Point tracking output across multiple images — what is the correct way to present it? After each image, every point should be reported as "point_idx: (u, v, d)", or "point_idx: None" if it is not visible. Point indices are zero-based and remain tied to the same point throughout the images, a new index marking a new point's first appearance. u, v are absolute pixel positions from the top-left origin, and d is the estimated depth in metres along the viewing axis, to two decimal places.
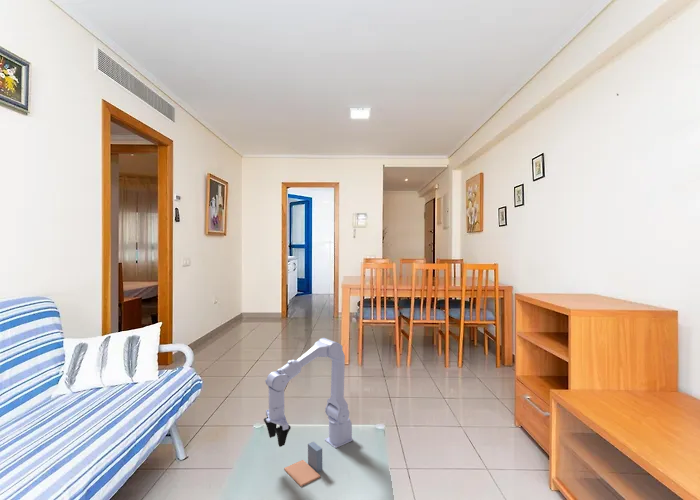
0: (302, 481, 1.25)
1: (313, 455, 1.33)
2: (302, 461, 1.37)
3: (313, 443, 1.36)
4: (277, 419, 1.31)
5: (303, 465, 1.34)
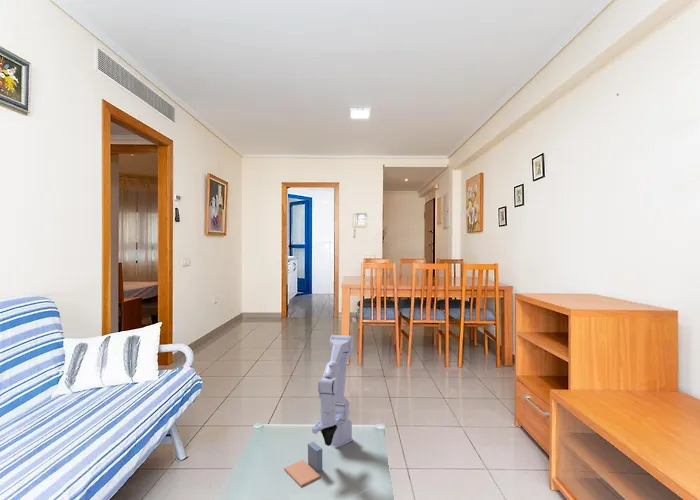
0: (302, 481, 1.25)
1: (313, 455, 1.33)
2: (302, 461, 1.37)
3: (313, 443, 1.36)
4: (321, 421, 1.36)
5: (303, 465, 1.34)
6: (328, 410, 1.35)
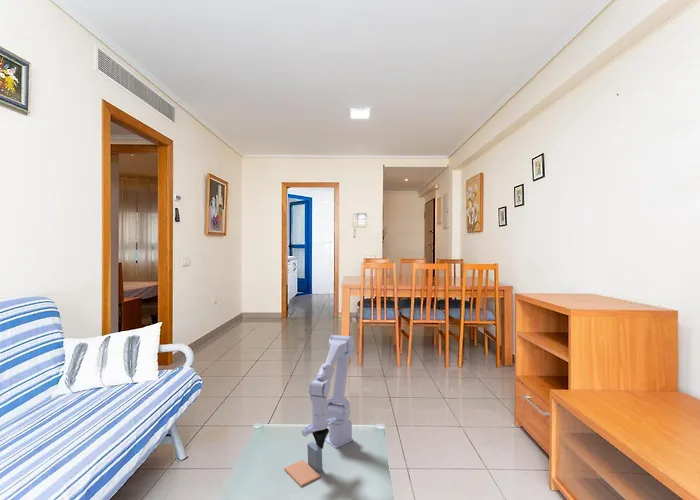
0: (302, 481, 1.25)
1: (312, 455, 1.33)
2: (302, 461, 1.37)
3: (313, 443, 1.36)
4: (312, 424, 1.34)
5: (303, 465, 1.34)
6: (319, 413, 1.32)
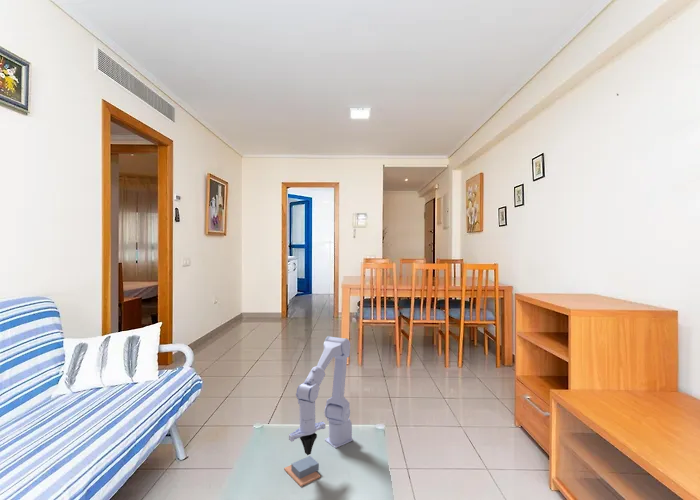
0: (302, 481, 1.25)
1: None
2: None
3: (292, 467, 1.30)
4: (299, 429, 1.31)
5: None
6: (305, 418, 1.29)
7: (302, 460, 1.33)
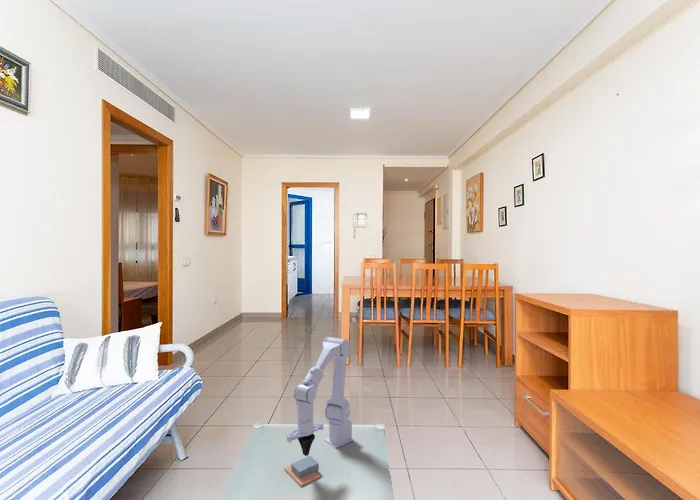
0: (302, 481, 1.25)
1: None
2: None
3: (292, 467, 1.30)
4: (297, 429, 1.31)
5: None
6: (303, 418, 1.28)
7: (302, 460, 1.33)
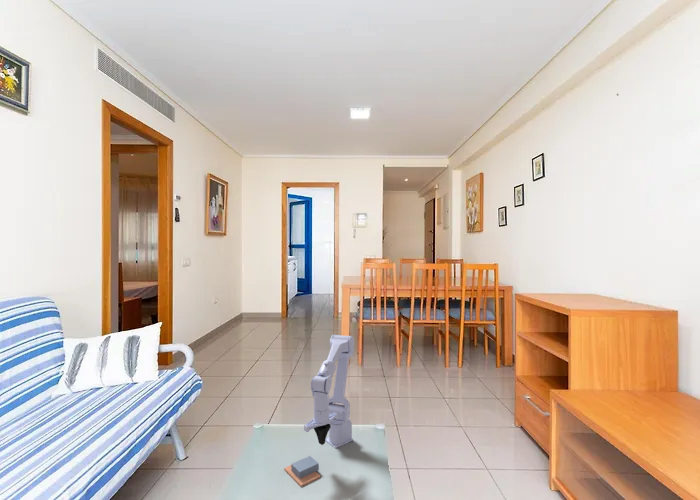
0: (302, 481, 1.25)
1: None
2: None
3: (292, 467, 1.30)
4: (314, 420, 1.35)
5: None
6: (320, 409, 1.33)
7: (302, 460, 1.33)
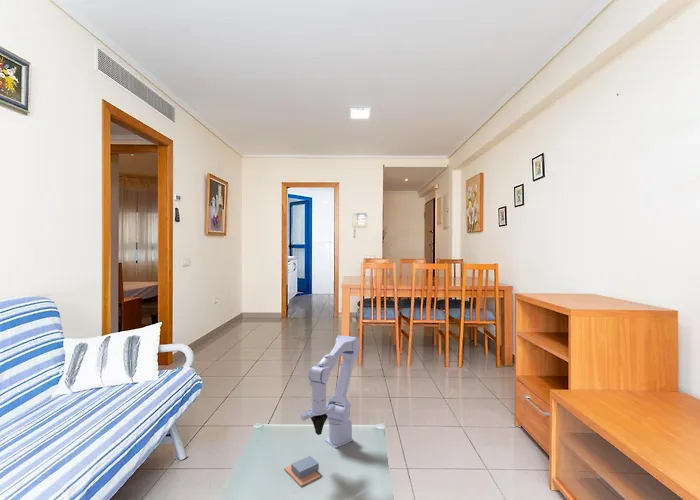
0: (302, 481, 1.25)
1: None
2: None
3: (292, 467, 1.30)
4: (311, 409, 1.37)
5: None
6: (317, 398, 1.35)
7: (302, 460, 1.33)
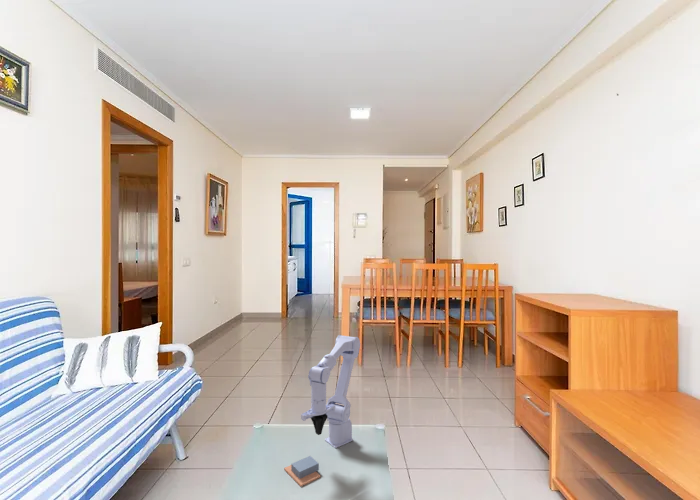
0: (302, 481, 1.25)
1: None
2: None
3: (292, 467, 1.30)
4: (311, 409, 1.37)
5: None
6: (317, 398, 1.35)
7: (302, 460, 1.33)
